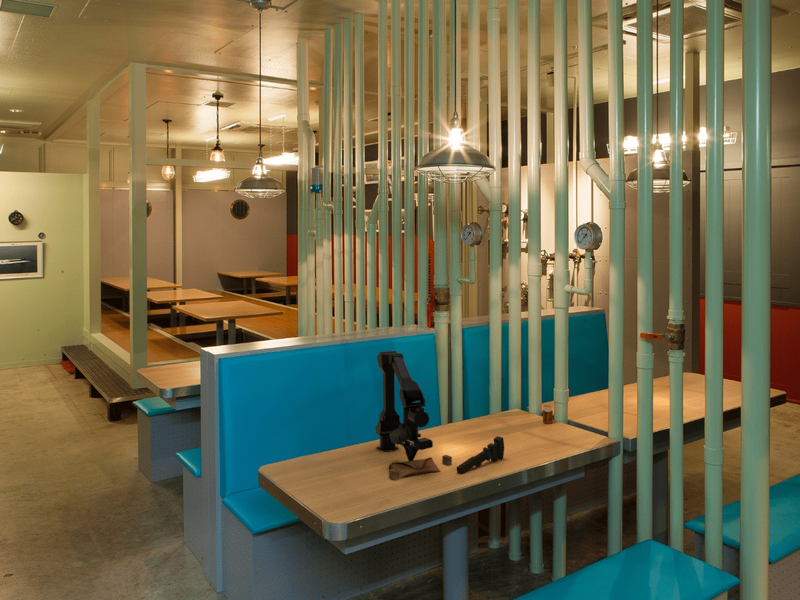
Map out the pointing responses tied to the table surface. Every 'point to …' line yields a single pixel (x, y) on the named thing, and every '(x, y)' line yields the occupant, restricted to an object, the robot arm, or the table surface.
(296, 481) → the table surface
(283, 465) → the table surface
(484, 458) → the adjustable wrench
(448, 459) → the block
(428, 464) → the sunglasses case
